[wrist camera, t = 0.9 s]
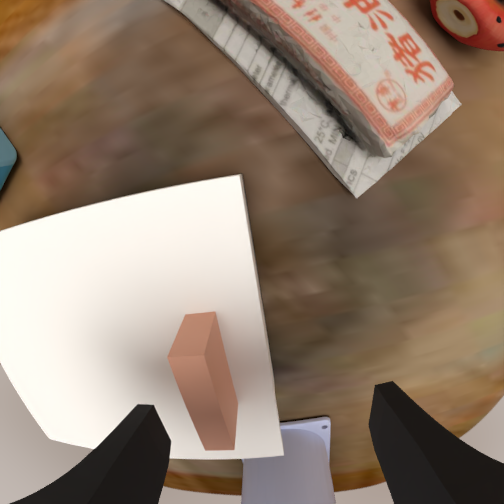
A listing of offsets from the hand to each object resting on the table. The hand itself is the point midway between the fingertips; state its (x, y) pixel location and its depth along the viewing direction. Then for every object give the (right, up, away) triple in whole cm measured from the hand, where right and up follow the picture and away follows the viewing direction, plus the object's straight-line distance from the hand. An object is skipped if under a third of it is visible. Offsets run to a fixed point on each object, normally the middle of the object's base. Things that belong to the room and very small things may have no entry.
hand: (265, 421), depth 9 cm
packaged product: (+3, +18, +6) cm, 19 cm away
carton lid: (-8, 0, +4) cm, 9 cm away
